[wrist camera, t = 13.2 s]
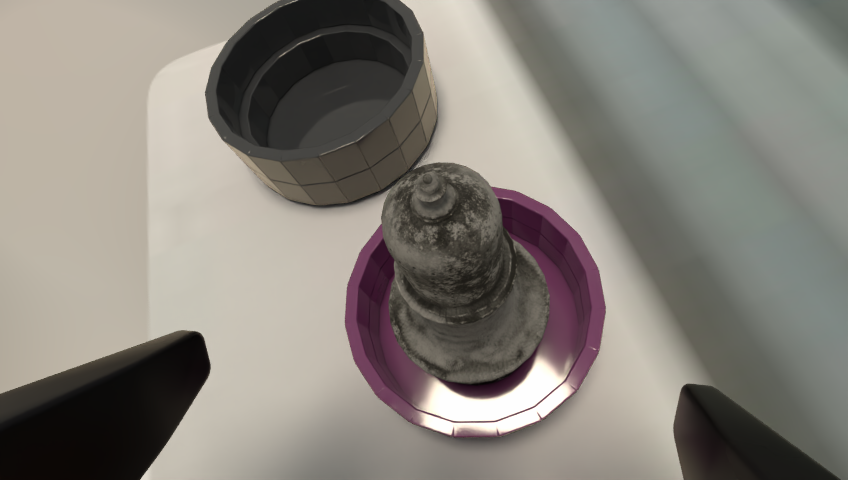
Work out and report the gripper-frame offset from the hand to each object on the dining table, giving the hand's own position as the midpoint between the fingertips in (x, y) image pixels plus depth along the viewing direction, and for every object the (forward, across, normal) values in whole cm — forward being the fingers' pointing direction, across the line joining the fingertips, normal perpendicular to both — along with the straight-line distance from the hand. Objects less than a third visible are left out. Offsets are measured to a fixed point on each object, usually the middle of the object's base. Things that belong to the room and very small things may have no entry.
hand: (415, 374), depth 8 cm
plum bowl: (+10, 0, +5) cm, 12 cm away
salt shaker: (+10, 0, +5) cm, 12 cm away
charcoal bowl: (+18, +9, -2) cm, 20 cm away
